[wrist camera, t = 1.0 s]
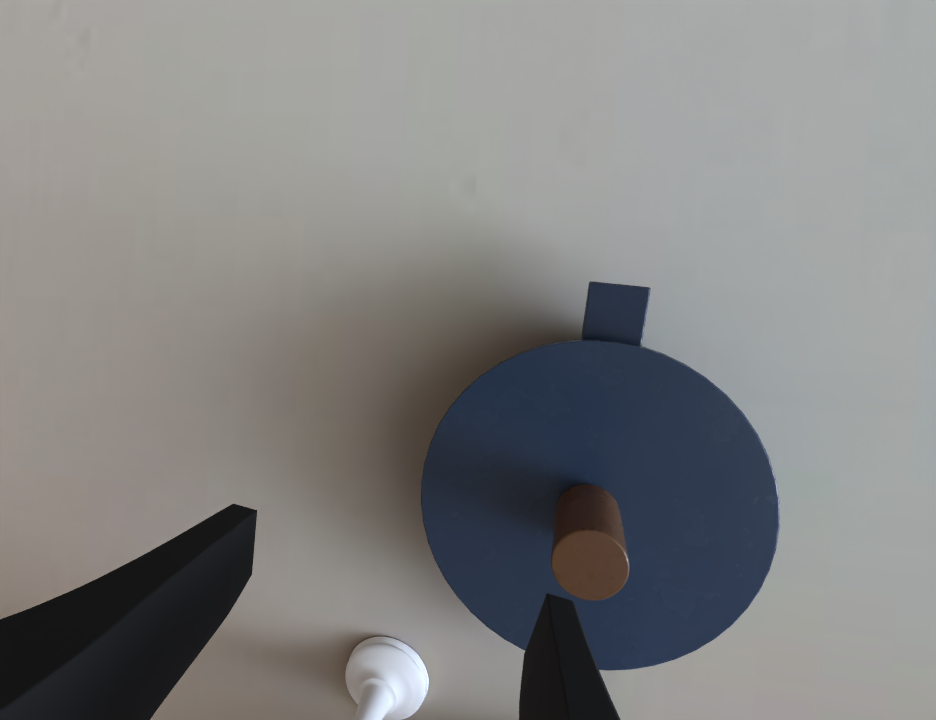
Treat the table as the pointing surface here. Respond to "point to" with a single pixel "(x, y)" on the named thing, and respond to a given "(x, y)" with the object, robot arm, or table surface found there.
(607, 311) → the pan
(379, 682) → the chess piece
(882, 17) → the table surface
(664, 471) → the pan lid
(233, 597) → the robot arm
